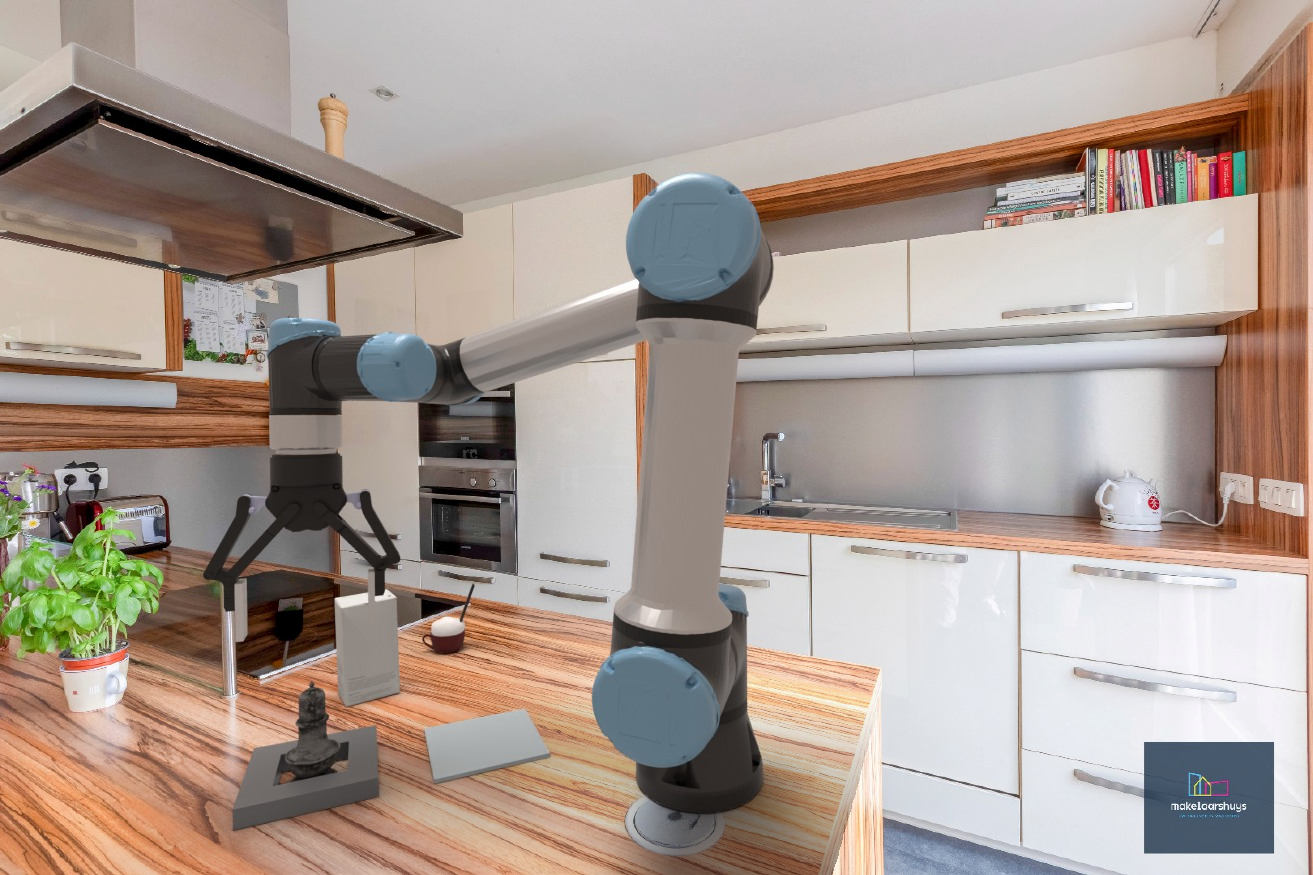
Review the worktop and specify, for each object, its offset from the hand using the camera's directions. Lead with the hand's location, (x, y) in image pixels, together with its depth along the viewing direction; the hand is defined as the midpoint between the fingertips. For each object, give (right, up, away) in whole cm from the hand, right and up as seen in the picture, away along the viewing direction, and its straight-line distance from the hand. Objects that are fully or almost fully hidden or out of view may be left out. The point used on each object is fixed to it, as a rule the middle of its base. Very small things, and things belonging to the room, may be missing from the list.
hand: (309, 630), depth 75 cm
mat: (+19, -18, +9) cm, 27 cm away
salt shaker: (0, -18, 0) cm, 18 cm away
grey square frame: (0, -18, 0) cm, 18 cm away
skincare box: (-4, -18, +25) cm, 31 cm away
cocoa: (+2, -17, +44) cm, 47 cm away
